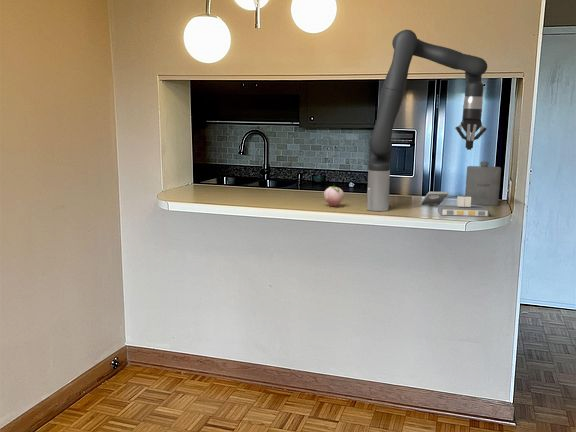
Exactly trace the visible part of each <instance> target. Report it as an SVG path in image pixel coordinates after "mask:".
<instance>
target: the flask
mask: <svg viewBox="0 0 576 432" xmlns="http://www.w3.org/2000/svg"><path fill="white" fill-rule="evenodd" d="M501 175H502V168H501V167H500V166H489V162H488V161H485V160H484V161H481V162H480V166H476V165H475V166H474V165H468V166H466V177H465V179H466V180H465V193H464V196H471V206H484V207H486V206H488V207H491V206H492V207H493V206H494V207H495V206H498V205H499V200H500V199H499V198H500V188H501V187H500V186H501V177H502V176H501Z"/></svg>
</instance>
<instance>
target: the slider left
mask: <svg viewBox="0 0 576 432" xmlns="http://www.w3.org/2000/svg"><path fill="white" fill-rule="evenodd" d="M464 196H465V195H457V197H456V205H457V206H458V207H464V203H465V197H464Z"/></svg>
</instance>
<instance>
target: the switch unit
mask: <svg viewBox="0 0 576 432" xmlns="http://www.w3.org/2000/svg"><path fill="white" fill-rule="evenodd" d="M437 213H438V214H439V215H440V216H443V217H445V216H447V217H448V216H449V217H476V218H477V217H480V218H481V217H482V218H489V215H490V214H489V213H490V209H489V208H487V207H486V206H484V205H471V207H458V206H457V204H440V205H437Z"/></svg>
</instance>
